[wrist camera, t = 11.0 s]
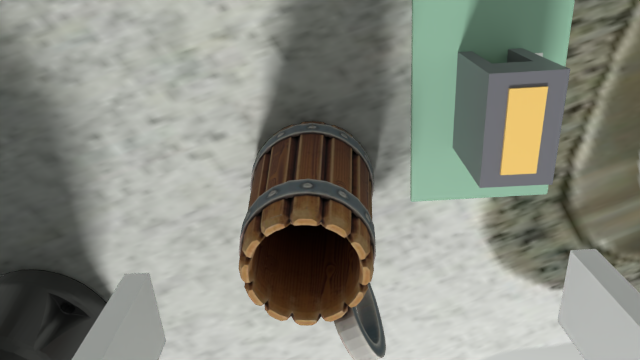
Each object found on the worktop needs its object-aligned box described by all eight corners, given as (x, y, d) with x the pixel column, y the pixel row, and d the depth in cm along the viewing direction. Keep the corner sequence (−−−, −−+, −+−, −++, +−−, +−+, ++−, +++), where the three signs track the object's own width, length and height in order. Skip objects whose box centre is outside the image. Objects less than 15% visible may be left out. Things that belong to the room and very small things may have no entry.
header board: (410, 198, 43) (419, 223, 39) (412, -14, 36) (423, -11, 31) (544, 191, 43) (567, 215, 38) (574, -26, 35) (607, -25, 31)
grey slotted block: (452, 147, 40) (480, 189, 33) (457, 52, 37) (490, 74, 30) (511, 144, 40) (553, 185, 33) (522, 48, 37) (571, 69, 29)
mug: (231, 153, 42) (184, 246, 28) (336, 96, 39) (340, 166, 26) (318, 280, 47) (314, 409, 34) (415, 236, 45) (453, 356, 31)
